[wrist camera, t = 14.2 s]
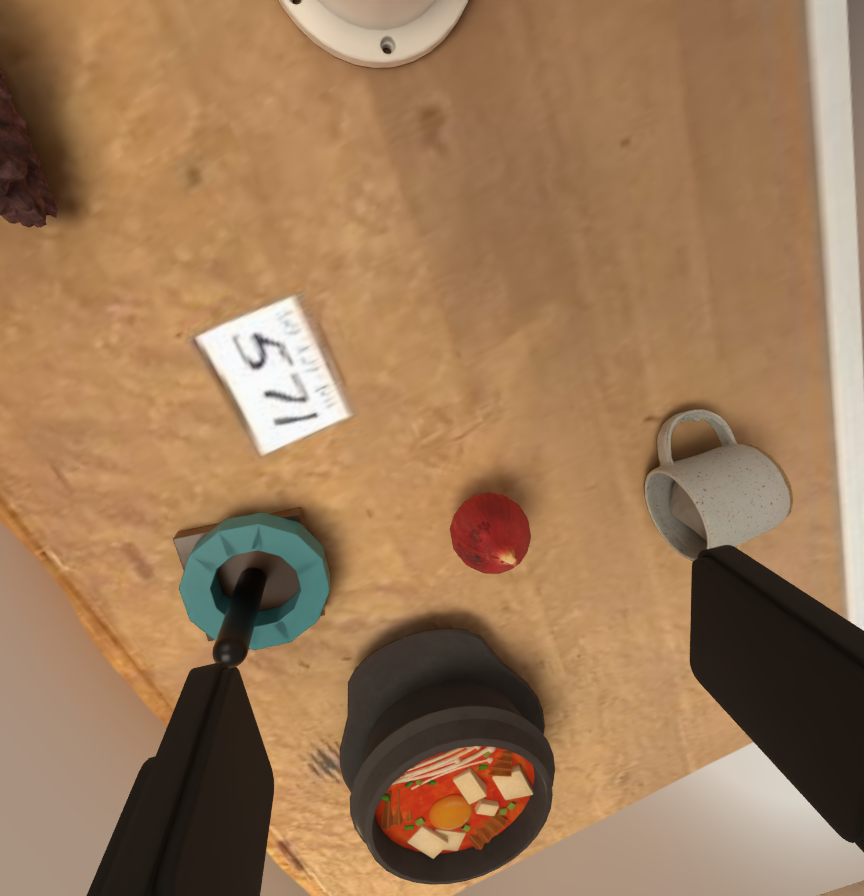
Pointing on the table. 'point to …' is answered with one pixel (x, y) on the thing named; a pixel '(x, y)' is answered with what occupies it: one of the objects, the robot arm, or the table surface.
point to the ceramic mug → (715, 491)
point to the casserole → (444, 758)
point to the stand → (245, 589)
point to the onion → (490, 533)
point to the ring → (265, 536)
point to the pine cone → (20, 170)
